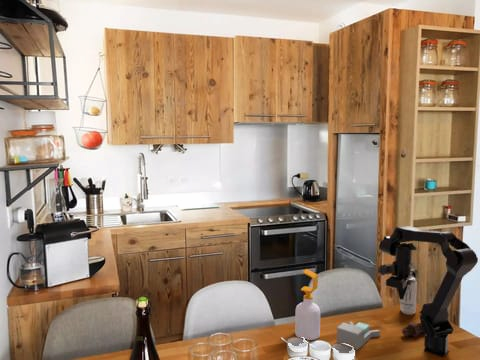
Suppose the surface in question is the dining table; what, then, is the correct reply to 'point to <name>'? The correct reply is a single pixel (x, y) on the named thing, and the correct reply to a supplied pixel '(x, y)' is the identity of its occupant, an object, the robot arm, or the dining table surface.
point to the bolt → (412, 330)
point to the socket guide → (354, 335)
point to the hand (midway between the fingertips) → (401, 299)
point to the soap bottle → (308, 312)
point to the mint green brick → (364, 326)
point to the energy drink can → (410, 299)
